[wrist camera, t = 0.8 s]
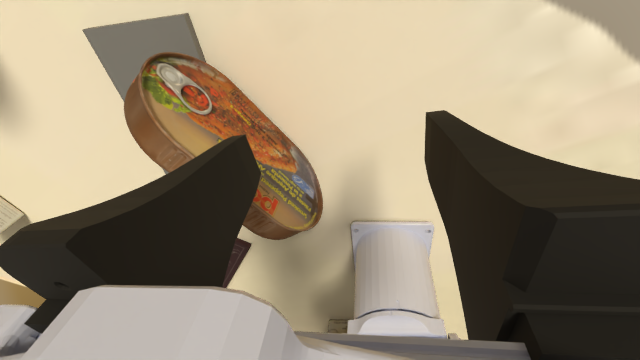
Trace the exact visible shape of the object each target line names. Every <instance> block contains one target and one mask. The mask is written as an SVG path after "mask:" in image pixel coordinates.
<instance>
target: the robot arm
mask: <svg viewBox="0 0 640 360" xmlns="http://www.w3.org/2000/svg"><path fill="white" fill-rule="evenodd" d="M425 164H426V170H427V175H428V180H429V183H430V186H431V189H432V192H433V194H434V197H435V200H436V203H437V206H438V209H439V211H440V214H441V217H442V220H443V223H444V226H445V229H446V232H447V236H448V239H449V244H450V248H451V253H452V257H453V262H454V267H455V271H456V276H457V281H458V286H459V291H460V296H461V301H462V306H463V311H464V317H465V322H466V328H467V333H468V339H469V340H461V339H460V338H459V337H458V335H457V334H455V333H448V339H447V335H446V330H445V325H444V320H443V319H441V317H440V312H439V307H438V302H437V297H436V292H435V287H434V282H433V277H432V272H431V267H430V263H429V256H430V250H431V244H432V238H433V232H434V225H433V223H432V222H363V221H355V222H352V223H351V234H352V244H353V255H354V265H355V275H356V276H355V301H354V320H348V327H347V333H341V334H339V333H319V332H299V331H293V330H292V328H291V326H290V324H289V323H288V321H287V320H286V318H285V317H284V316H283V315H282V314H281V313H280V312H279V311H278V310H277V309H276V308H275V307H274V306H273V305H272V304H271V303H270V302H267V301H265V300H263V299H260V298H258V297H256V296H254V295H251V294H249V293H247V292H245V291H240V290H234V289H227V288H222V286H223V282H224V278H225V275H226V271H227V267H228V263H229V260H230V257H231V254H232V250H233V247H234V244H235V241H236V239H237V236H238V233H239V231H240V229H241V227H242V224H243V222H244V220H245V218H246V215H247V213H248V211H249V209H250V206H251V204H252V202H253V199H254V197H255V194H256V192H257V188H258V185H259V181H260V176H261V172H260V169H259V167H258V164H257V162H256V159H255V157H254V154H253V152H252V149H251V147H250V144H249V142H248V140H247V137H246V135H237V136H231V137H229V138H227V139H225V140H223V141H221V142H219V143H218V144H216V145H214V146H213V147H211V148H210V149H208V150H206V151H205V152H203V153H202V154H200V155H198V156H197V157H195V158H194V159H192V160H190V161H189V162H187V163H185V164H184V165H182V166H180V167H178V168H177V169H175V170H173V171H172V172H170V173H168V174H166V175H164V176H162V177H161V178H159V179H157V180H155V181H153V182H150V183H148V184H146V185H144V186H142V187H140V188H137V189H135V190H133V191H130V192H128V193H126V194H123V195H121V196H118V197H116V198H113V199H111V200H108V201H105V202H103V203H100V204H97V205H94V206H91V207H88V208H85V209H82V210H79V211H76V212H72V213H69V214H65V215H62V216H58V217H55V218H51V219H48V220H44V221H40V222H36V223H33V224H30V225H28V226H26V227H24V228H22V229H20V230H19V231H18V232H17V233H15V234H14V235H13V236H12V237H10V238H9V239H8V240H7V241H6V242H4V243H3V244H2V245H1V246H0V267H1V268H2V269H3V270H4V271H6V272H7V273H8V274H9V275H11V276H12V277H13V278H15V279H16V280H18V281H19V282H21V283H22V284H24V285H25V286H27V287H28V288H30V289H31V290H33V291H34V292H36V293H37V294H39V295H40V296H42V297H43V298H45V299H46V300H45V302H44V303H43V304H42V305H41V306H40V307H39V308H35V307H32V306H28V305H10V304H9V305H8V304H3V305H0V360H640V180H638V179H632V178H626V177H621V176H616V175H611V174H606V173H601V172H597V171H592V170H587V169H583V168H579V167H575V166H571V165H567V164H564V163H560V162H557V161H553V160H550V159H546V158H543V157H540V156H537V155H534V154H531V153H528V152H526V151H523V150H520V149H518V148H515V147H512V146H510V145H508V144H505V143H503V142H501V141H499V140H497V139H495V138H493V137H491V136H489V135H487V134H485V133H483V132H481V131H479V130H477V129H475V128H474V127H472V126H470V125H469V124H467V123H465V122H463V121H462V120H460V119H459V118H457V117H455V116H454V115H452V114H450V113H448V112H447V111H444V110H443V111H434V112H426V129H425ZM355 229H357V230H355Z"/></svg>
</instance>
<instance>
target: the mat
mask: <svg viewBox="0 0 640 360" xmlns="http://www.w3.org/2000/svg"><path fill="white" fill-rule="evenodd" d="M83 32H84V34H85V35H86V37H87V39H88V41H89V42H90V44H91V46H92V48H93V49H94V51H95V53H96V54H97V56H98V58H99V60H100V61H101V63H102V65H103V67H104V68H105V70H106V72H107V73H108V75H109V77H110V79H111V80H112V82H113V84H114V86H115V87H116V89H117V91H118V92H119V94H120V96H121V98H122V99H123V101H124V102H125V97H126V93H127V91H128V89H129V87H130V85H131V83H132V82H133V81H134V79H135V78H136V77H137V75H138V74H139V73H140V69H141V67H142V65H143V63H144V62H145V61H146V60H147V59H148V58H150V57H151V56H153V55H155V54H158V53H163V52H176V53H181V54H186V55H189V56H192V57H195V58H197V59H199V60H201V61H203V62H205V63H206V61H205V58H204V56H203V53H202V50H201V47H200V45H199V42H198V39H197V36H196V34H195V31H194V28H193V25H192V22H191V20H190V17H189V14H188V13H186V14H179V15H172V16H166V17H159V18H153V19H146V20H139V21H133V22H126V23H120V24H113V25H106V26H100V27H93V28H87V29H83ZM163 170H164V172H165V174H168V173H169V172H167V171H166V170H165V169H163Z"/></svg>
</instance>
